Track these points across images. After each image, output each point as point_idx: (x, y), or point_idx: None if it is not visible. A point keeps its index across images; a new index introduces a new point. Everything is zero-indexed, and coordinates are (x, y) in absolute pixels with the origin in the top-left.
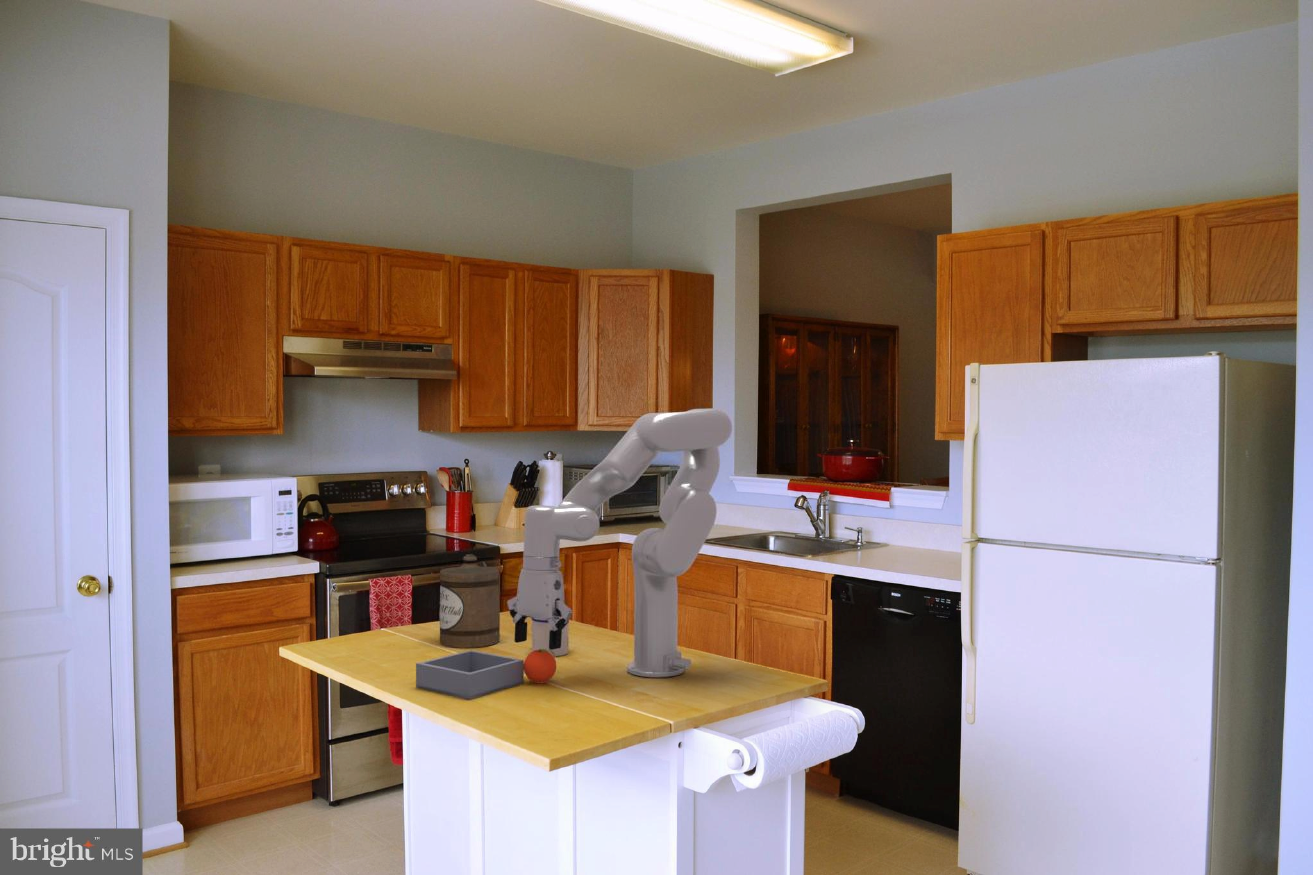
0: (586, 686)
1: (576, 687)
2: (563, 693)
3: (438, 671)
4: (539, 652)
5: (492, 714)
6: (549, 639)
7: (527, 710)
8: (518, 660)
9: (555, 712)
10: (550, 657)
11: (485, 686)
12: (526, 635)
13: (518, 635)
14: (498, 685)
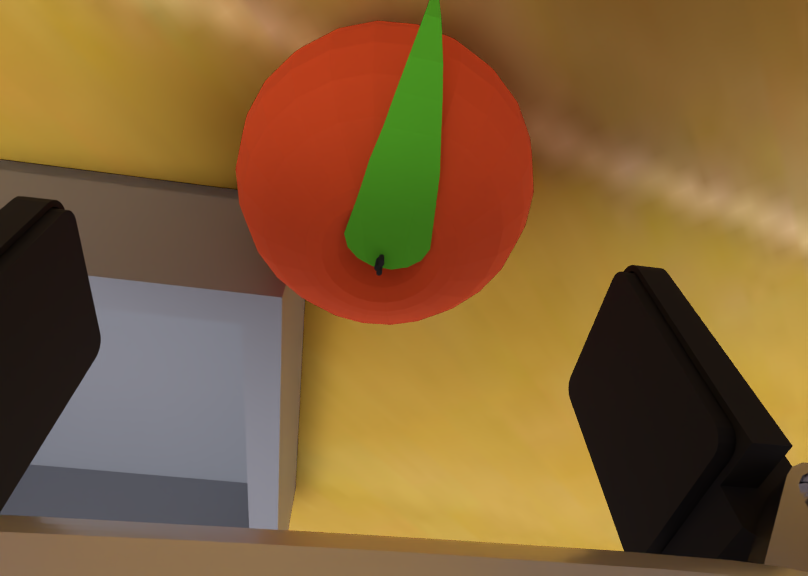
0: (772, 55)
1: (700, 116)
2: (655, 267)
3: None
4: (413, 301)
5: None
6: (598, 467)
7: (591, 497)
8: (262, 328)
9: None
10: (509, 228)
11: (291, 461)
12: (41, 249)
13: (62, 389)
14: (297, 389)
